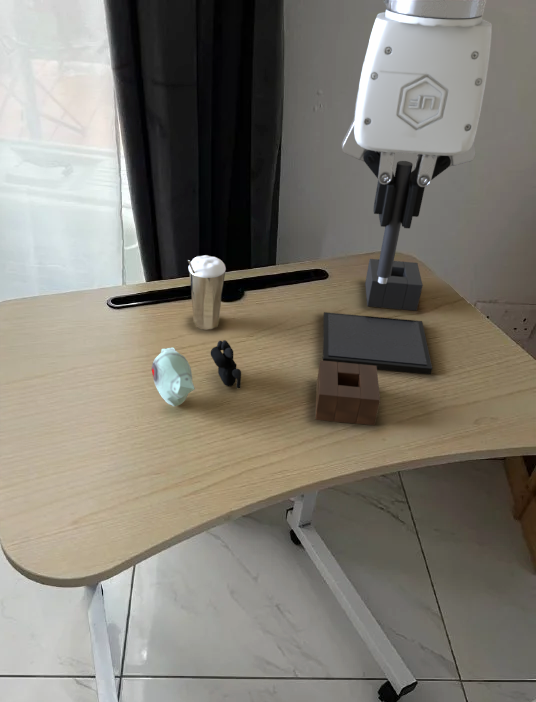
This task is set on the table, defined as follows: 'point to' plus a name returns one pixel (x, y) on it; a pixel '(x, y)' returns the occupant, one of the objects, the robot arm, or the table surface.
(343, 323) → the tablet
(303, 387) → the table surface
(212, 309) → the milkshake
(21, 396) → the table surface
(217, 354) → the wireless earbuds
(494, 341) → the table surface
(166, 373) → the robot head
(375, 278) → the dock
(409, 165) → the stylus
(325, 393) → the pen stand
